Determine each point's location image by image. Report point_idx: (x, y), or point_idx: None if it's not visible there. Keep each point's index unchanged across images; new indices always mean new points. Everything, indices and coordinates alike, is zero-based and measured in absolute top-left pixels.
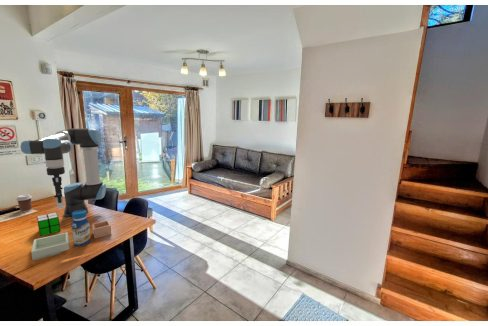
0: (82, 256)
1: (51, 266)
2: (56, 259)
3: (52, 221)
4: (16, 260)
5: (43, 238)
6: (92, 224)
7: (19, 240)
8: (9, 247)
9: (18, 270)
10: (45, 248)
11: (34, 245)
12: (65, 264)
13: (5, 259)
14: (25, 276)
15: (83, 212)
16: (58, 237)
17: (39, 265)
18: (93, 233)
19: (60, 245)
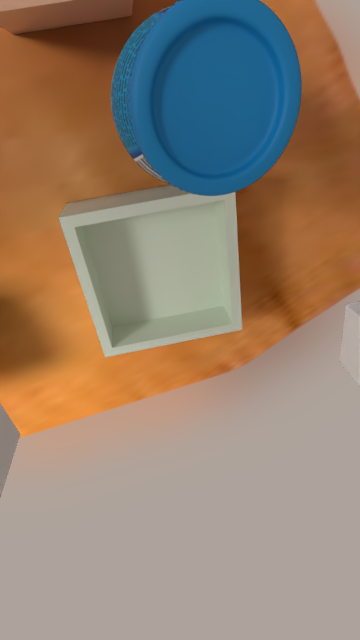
0: (325, 90)
1: (326, 226)
2: (274, 219)
3: None
4: (194, 357)
5: (104, 323)
6: (4, 8)
7: (3, 405)
8: (65, 412)
9: (278, 328)
10: (239, 284)
11: (178, 336)
12: (350, 169)
13: (167, 389)
14: (338, 295)
15: (279, 29)
16: (87, 258)
17: (286, 273)
18: (59, 21)
19: (235, 222)
